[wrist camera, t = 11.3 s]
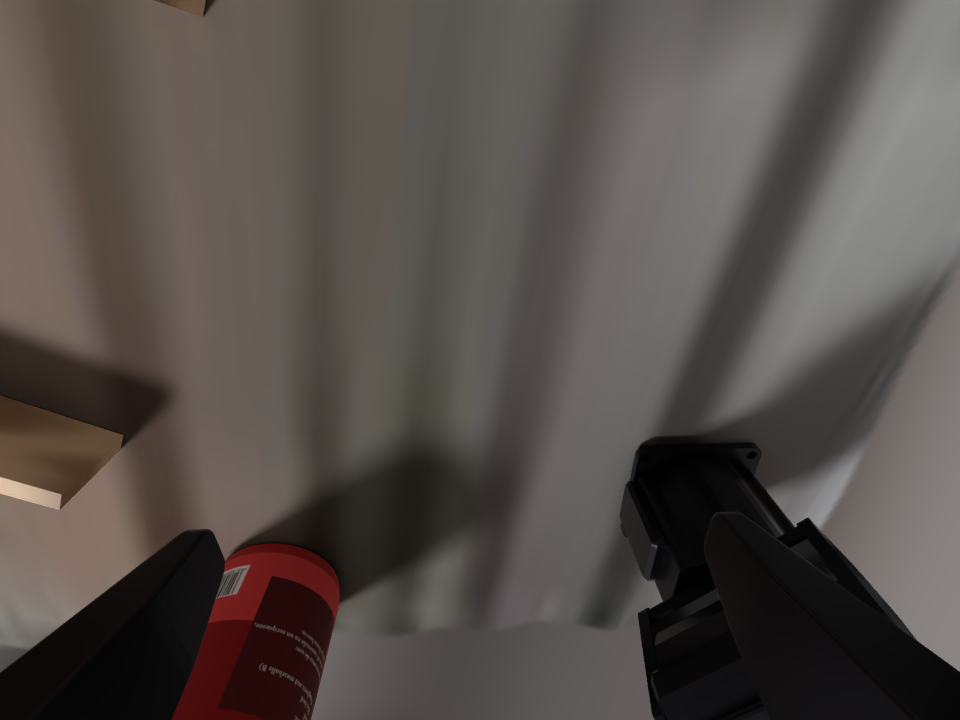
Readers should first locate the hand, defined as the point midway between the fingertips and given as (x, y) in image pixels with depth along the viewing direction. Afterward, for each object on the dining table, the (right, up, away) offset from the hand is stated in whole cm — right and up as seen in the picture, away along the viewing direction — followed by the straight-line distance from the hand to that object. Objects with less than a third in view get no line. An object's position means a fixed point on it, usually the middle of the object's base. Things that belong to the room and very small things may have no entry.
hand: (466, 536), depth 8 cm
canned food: (-12, -11, +20) cm, 26 cm away
